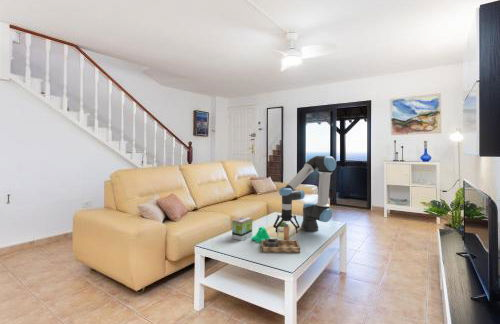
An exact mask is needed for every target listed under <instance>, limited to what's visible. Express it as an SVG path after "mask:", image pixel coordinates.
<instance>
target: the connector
mask: <svg viewBox="0 0 500 324" xmlns="http://www.w3.org/2000/svg"><path fill="white" fill-rule="evenodd" d="M283 240H290V226H289V224H288V223H285V224H284V225H283Z"/></svg>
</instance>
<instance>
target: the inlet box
mask: <svg viewBox="0 0 500 324" xmlns="http://www.w3.org/2000/svg"><path fill="white" fill-rule="evenodd" d="M260 244H261V253H280V254H281V253H285V254H293V253H295V254H300V253H301V246H300V244H299V242H298V240H296V239H295V240H294V239H293V240H290V239H289V240H284V239H281V240H280V239H278V238H270V239H265V240H261V243H260Z"/></svg>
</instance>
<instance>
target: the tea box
mask: <svg viewBox="0 0 500 324" xmlns="http://www.w3.org/2000/svg"><path fill="white" fill-rule="evenodd" d="M231 227H232V228H231V238H232V239H234V240H237V241H241V242H242V241H243V240H246V239H248V238H250V237H253V218H252V217H247V216H240V217H238V218H235V219H233V220H232V224H231Z"/></svg>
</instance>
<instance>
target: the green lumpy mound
mask: <svg viewBox="0 0 500 324" xmlns="http://www.w3.org/2000/svg"><path fill="white" fill-rule="evenodd" d="M265 239H271V238H270V236H269V233H268V231H267V229H266V227H265V226H260V227H259V228H258V230H257V232H256V234H255V235H252V236H251V240H253V241H254V242H256V243H260V244H261V240H265Z"/></svg>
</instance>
